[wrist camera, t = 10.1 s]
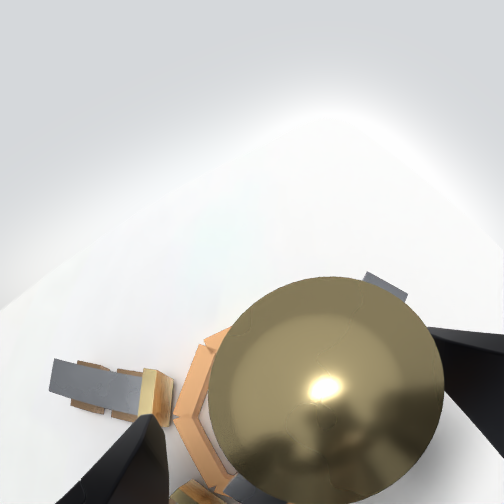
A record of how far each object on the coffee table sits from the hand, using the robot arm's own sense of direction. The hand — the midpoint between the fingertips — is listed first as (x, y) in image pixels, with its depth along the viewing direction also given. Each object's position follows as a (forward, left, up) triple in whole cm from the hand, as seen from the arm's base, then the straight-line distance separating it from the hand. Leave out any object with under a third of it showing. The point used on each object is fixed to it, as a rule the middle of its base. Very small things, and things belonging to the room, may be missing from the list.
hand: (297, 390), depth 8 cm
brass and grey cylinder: (0, 0, -8) cm, 8 cm away
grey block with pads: (-9, +5, -8) cm, 13 cm away
